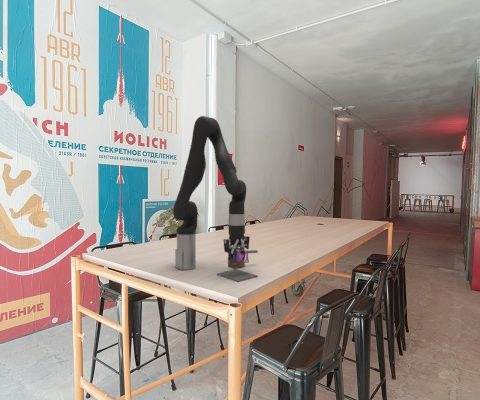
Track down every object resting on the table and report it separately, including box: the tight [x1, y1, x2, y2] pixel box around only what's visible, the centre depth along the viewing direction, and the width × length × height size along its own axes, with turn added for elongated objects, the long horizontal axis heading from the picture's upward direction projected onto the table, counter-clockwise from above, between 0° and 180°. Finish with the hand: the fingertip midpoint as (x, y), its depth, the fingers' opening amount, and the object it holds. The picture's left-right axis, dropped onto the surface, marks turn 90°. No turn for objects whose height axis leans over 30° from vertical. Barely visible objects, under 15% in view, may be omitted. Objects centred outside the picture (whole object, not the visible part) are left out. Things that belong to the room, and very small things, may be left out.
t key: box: [236, 246, 259, 255], centre depth 164 cm, size 8×12×8 cm, turn 103°
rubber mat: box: [216, 268, 258, 283], centre depth 147 cm, size 12×15×1 cm
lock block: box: [227, 258, 246, 270], centre depth 163 cm, size 6×6×5 cm
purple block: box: [229, 247, 250, 263], centre depth 147 cm, size 7×5×9 cm
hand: (236, 260), depth 147 cm, fingers closed on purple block, 6 cm apart
